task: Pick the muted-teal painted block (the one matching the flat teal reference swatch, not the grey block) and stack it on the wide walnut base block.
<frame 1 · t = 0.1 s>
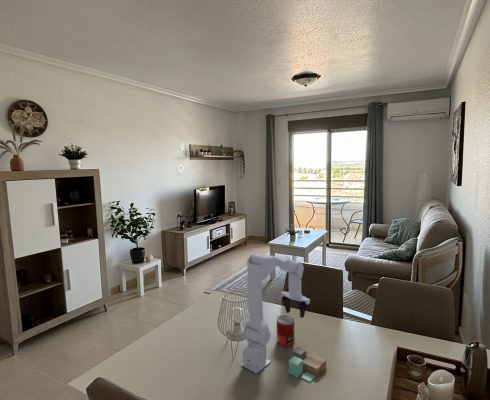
hand: (295, 314, 147), 10 cm above the table, fingers open, 7 cm apart
canned food: (285, 342, 143), on the table
reference swatch: (307, 377, 119), on the table
walnut base: (313, 369, 124), on the table
grey block: (299, 362, 128), on the table
teal block: (295, 372, 122), on the table
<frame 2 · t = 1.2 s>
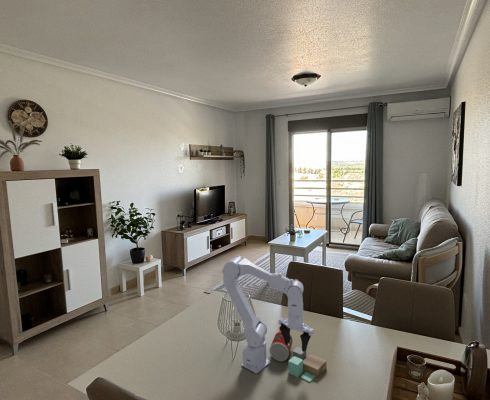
hand: (295, 346, 122), 9 cm above the table, fingers open, 7 cm apart
canned food: (284, 338, 139), point 4 cm above the table
everything else where it was.
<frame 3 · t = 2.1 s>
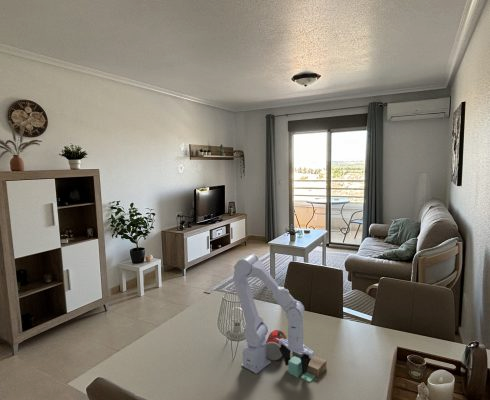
hand: (295, 368, 122), 2 cm above the table, fingers open, 7 cm apart
canned food: (278, 337, 140), point 4 cm above the table, touching arm
everything else where it was.
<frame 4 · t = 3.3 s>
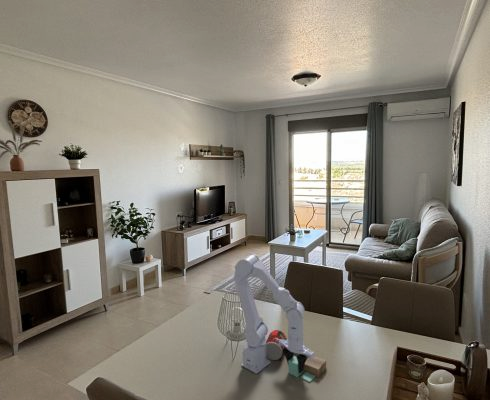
hand: (295, 369, 122), 1 cm above the table, fingers closed on teal block, 4 cm apart
canned food: (278, 337, 140), point 4 cm above the table
teal block: (295, 372, 122), on the table, touching gripper
everything else where it was.
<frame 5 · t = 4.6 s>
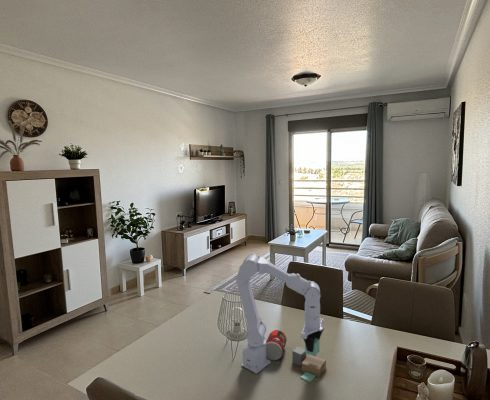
hand: (312, 348, 123), 8 cm above the table, fingers closed on teal block, 4 cm apart
teal block: (312, 352, 123), point 7 cm above the table, touching gripper
everything else where it was.
when the fingers open (6 cm above the table, at t = 5.9 s): teal block drops 1 cm, point 3 cm above the table.
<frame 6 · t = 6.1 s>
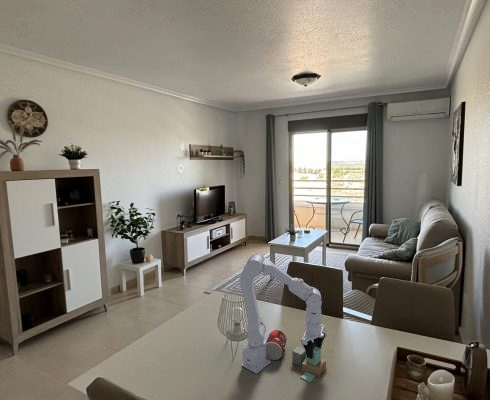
hand: (313, 354, 123), 6 cm above the table, fingers open, 5 cm apart
teal block: (313, 360, 124), point 3 cm above the table
everything else where it was.
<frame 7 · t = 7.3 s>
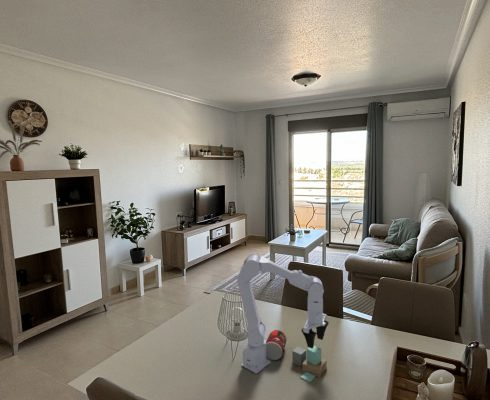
hand: (315, 342, 124), 10 cm above the table, fingers open, 7 cm apart
walnut base: (314, 370, 123), on the table, touching teal block
teal block: (314, 360, 124), point 3 cm above the table, touching walnut base
everything else where it was.
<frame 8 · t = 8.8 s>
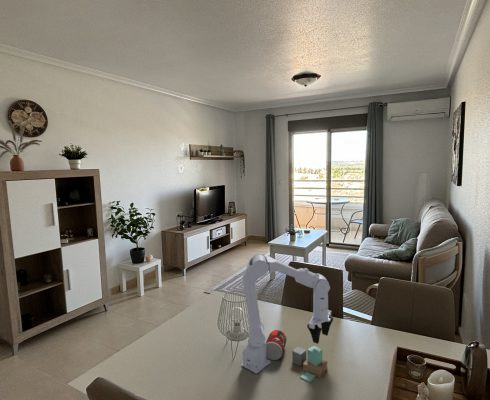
hand: (320, 338, 127), 10 cm above the table, fingers open, 7 cm apart
nothing on the table moved.
at the end: teal block 0.3 cm off-centre on the walnut base, point 3.5 cm above the walnut base's base; teal block tilted 0°; the gripper is holding nothing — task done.
